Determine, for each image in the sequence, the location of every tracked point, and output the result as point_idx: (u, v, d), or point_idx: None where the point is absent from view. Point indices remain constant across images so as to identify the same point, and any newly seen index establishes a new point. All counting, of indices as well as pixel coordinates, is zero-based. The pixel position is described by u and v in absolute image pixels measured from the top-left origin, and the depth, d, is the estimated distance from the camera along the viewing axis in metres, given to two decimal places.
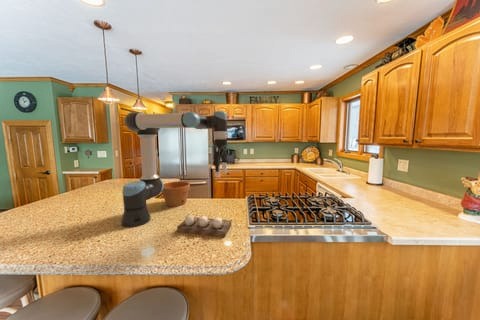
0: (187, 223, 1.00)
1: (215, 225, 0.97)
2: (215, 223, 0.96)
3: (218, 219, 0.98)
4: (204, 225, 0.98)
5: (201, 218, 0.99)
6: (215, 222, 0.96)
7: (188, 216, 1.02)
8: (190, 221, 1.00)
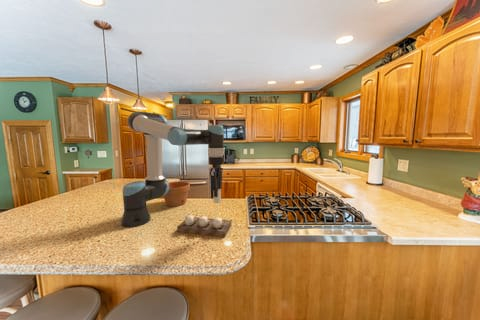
0: (187, 223, 1.00)
1: (215, 225, 0.97)
2: (215, 223, 0.96)
3: (218, 219, 0.98)
4: (204, 225, 0.98)
5: (201, 218, 0.99)
6: (215, 222, 0.96)
7: (188, 216, 1.02)
8: (190, 221, 1.00)
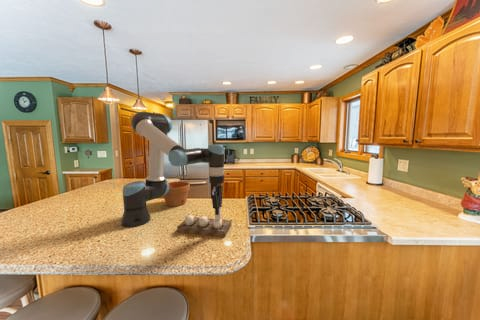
0: (187, 223, 1.00)
1: (215, 226, 0.97)
2: (215, 224, 0.96)
3: (218, 220, 0.98)
4: (204, 225, 0.98)
5: (201, 218, 0.99)
6: (215, 223, 0.97)
7: (188, 216, 1.02)
8: (190, 221, 1.00)
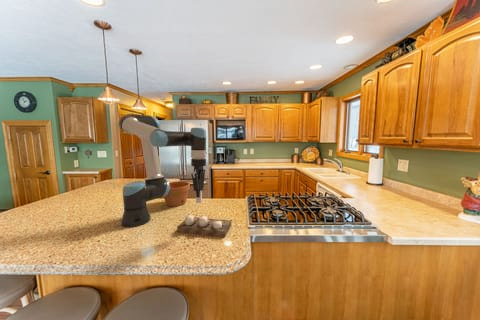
0: (187, 223, 1.00)
1: None
2: (215, 226, 0.97)
3: (218, 223, 0.98)
4: (204, 225, 0.98)
5: (201, 218, 0.99)
6: (215, 226, 0.97)
7: (188, 216, 1.02)
8: (190, 221, 1.00)
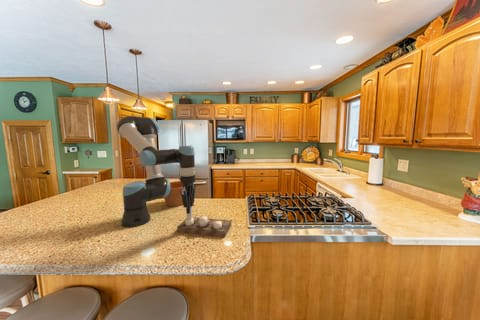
0: (187, 225, 1.00)
1: None
2: (215, 226, 0.97)
3: (218, 223, 0.98)
4: (204, 225, 0.98)
5: (201, 218, 0.99)
6: (215, 226, 0.97)
7: None
8: (190, 224, 1.00)
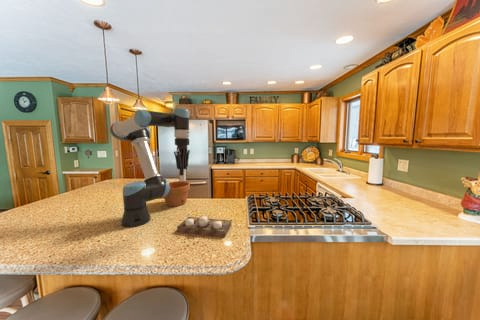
0: None
1: None
2: (215, 226, 0.97)
3: (218, 223, 0.98)
4: (204, 225, 0.98)
5: (201, 218, 0.99)
6: (215, 226, 0.97)
7: (188, 219, 1.02)
8: (190, 225, 1.00)
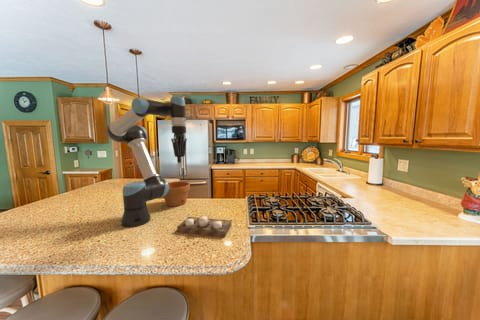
0: None
1: None
2: (215, 226, 0.97)
3: (218, 223, 0.98)
4: (204, 225, 0.98)
5: (201, 218, 0.99)
6: (215, 226, 0.97)
7: (188, 219, 1.02)
8: (190, 225, 1.00)
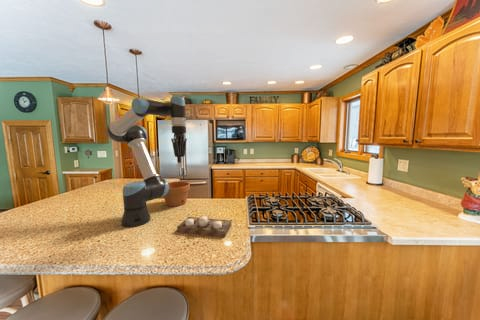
0: None
1: None
2: (215, 226, 0.97)
3: (218, 223, 0.98)
4: (204, 225, 0.98)
5: (201, 218, 0.99)
6: (215, 226, 0.97)
7: (188, 219, 1.02)
8: (190, 225, 1.00)
